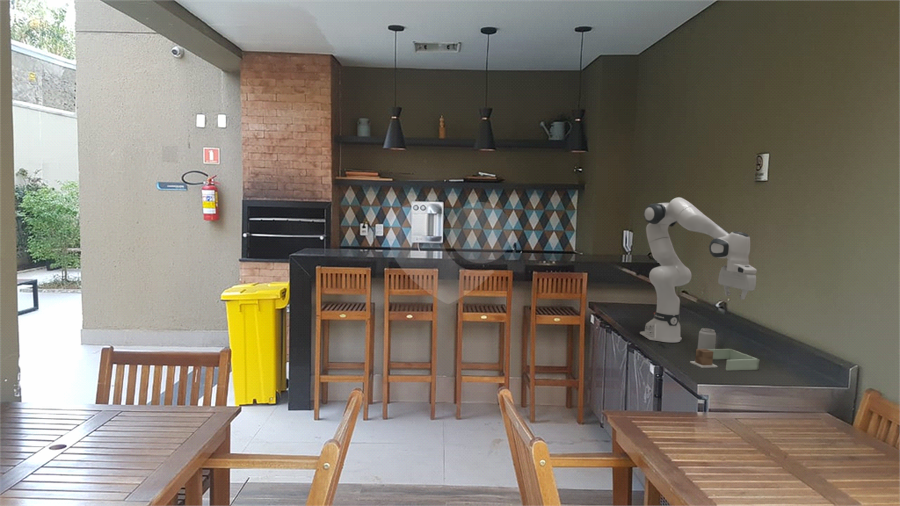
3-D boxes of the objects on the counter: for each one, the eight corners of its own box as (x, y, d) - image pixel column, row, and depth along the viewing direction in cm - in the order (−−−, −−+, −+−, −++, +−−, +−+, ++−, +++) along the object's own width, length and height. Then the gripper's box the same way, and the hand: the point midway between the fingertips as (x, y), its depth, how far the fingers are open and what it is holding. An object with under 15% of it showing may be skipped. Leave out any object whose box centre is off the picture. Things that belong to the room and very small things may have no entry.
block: (695, 362, 262) (696, 349, 261) (704, 361, 263) (705, 348, 263) (702, 365, 257) (703, 351, 257) (712, 365, 258) (713, 351, 258)
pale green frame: (700, 359, 270) (701, 349, 270) (729, 358, 274) (730, 348, 273) (727, 370, 253) (728, 360, 252) (758, 369, 256) (759, 359, 256)
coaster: (690, 362, 263) (690, 361, 263) (705, 362, 265) (705, 360, 265) (701, 367, 255) (701, 366, 255) (717, 367, 257) (717, 365, 257)
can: (715, 356, 276) (718, 331, 274) (699, 355, 277) (701, 330, 276) (712, 352, 283) (714, 328, 282) (695, 351, 284) (697, 327, 283)
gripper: (716, 264, 277) (713, 293, 278) (747, 270, 257) (744, 301, 258) (727, 264, 278) (725, 293, 279) (759, 270, 258) (757, 301, 260)
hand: (734, 297), depth 269 cm, fingers open, 8 cm apart
